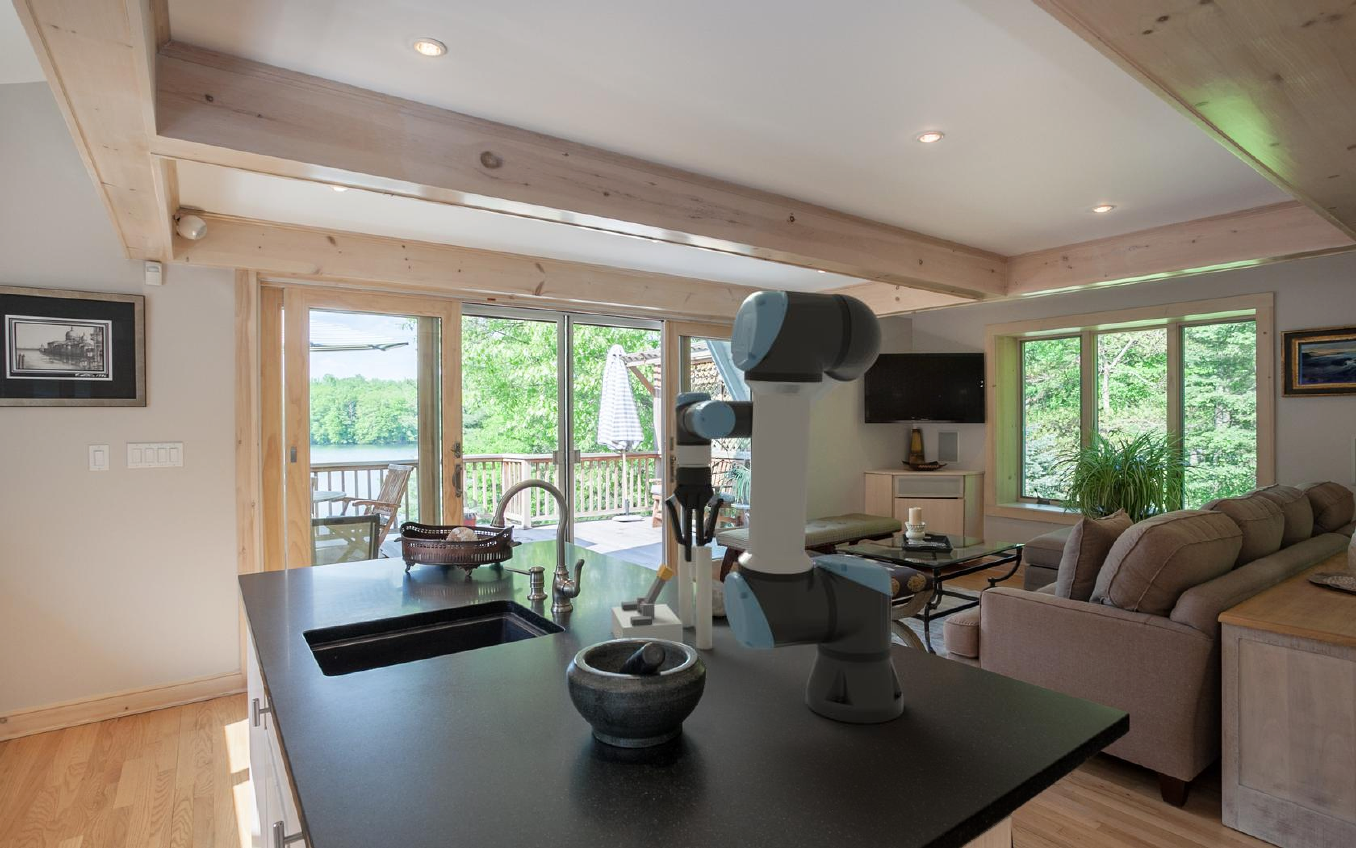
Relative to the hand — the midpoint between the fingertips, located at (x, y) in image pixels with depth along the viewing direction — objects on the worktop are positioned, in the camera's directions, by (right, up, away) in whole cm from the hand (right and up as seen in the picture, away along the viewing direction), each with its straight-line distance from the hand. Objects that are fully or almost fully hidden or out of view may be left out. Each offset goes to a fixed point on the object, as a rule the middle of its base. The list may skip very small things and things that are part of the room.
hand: (694, 576), depth 153 cm
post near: (+2, -13, -8) cm, 15 cm away
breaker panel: (-10, -13, -2) cm, 16 cm away
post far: (-2, -12, +8) cm, 15 cm away
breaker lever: (-11, -7, -3) cm, 13 cm away
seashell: (+6, -13, +17) cm, 22 cm away
